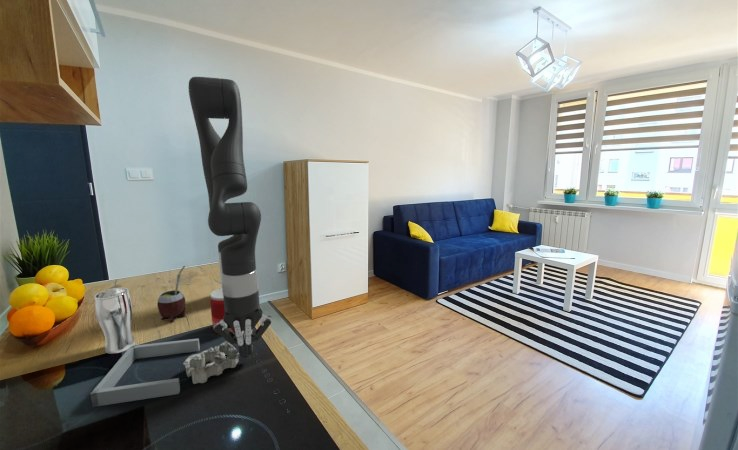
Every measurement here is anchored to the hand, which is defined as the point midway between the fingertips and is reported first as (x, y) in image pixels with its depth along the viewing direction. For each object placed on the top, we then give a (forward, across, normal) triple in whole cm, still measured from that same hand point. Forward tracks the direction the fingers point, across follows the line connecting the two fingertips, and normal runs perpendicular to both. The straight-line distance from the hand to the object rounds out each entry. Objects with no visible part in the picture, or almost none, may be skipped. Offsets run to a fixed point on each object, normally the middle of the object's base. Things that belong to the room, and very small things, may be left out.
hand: (246, 356), depth 73 cm
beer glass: (+2, +32, -14) cm, 35 cm away
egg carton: (+2, +7, 0) cm, 8 cm away
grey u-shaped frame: (+2, +20, -1) cm, 20 cm away
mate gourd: (+2, +24, -28) cm, 37 cm away
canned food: (+2, +7, -18) cm, 20 cm away
